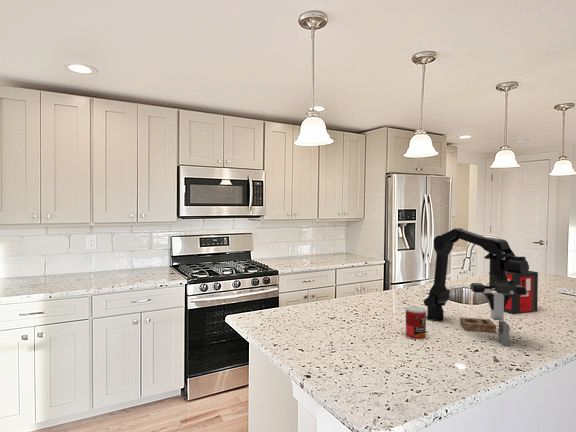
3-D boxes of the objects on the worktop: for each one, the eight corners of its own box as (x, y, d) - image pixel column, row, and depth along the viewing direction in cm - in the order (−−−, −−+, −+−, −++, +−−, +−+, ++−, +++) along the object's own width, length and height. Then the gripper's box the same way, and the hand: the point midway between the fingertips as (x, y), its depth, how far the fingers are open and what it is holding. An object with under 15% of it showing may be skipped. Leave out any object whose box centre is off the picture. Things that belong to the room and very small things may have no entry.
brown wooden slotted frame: (464, 330, 153) (464, 323, 153) (460, 324, 162) (460, 317, 162) (496, 333, 150) (496, 325, 150) (489, 326, 159) (489, 319, 159)
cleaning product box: (512, 314, 177) (513, 274, 176) (497, 309, 185) (497, 271, 185) (537, 311, 182) (537, 272, 182) (520, 307, 191) (521, 269, 190)
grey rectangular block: (503, 346, 136) (503, 325, 136) (498, 341, 141) (498, 320, 141) (509, 346, 136) (509, 325, 136) (504, 341, 141) (504, 321, 141)
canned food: (416, 340, 142) (416, 312, 142) (401, 334, 149) (401, 307, 149) (430, 337, 145) (430, 310, 145) (414, 331, 153) (415, 305, 152)
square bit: (493, 320, 142) (494, 294, 142) (491, 317, 145) (491, 292, 145) (503, 320, 141) (503, 295, 141) (500, 318, 145) (500, 293, 144)
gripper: (477, 273, 137) (476, 314, 138) (532, 275, 133) (532, 317, 133) (470, 268, 148) (469, 306, 149) (521, 270, 144) (520, 309, 144)
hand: (497, 310), depth 143 cm, fingers closed on square bit, 3 cm apart
